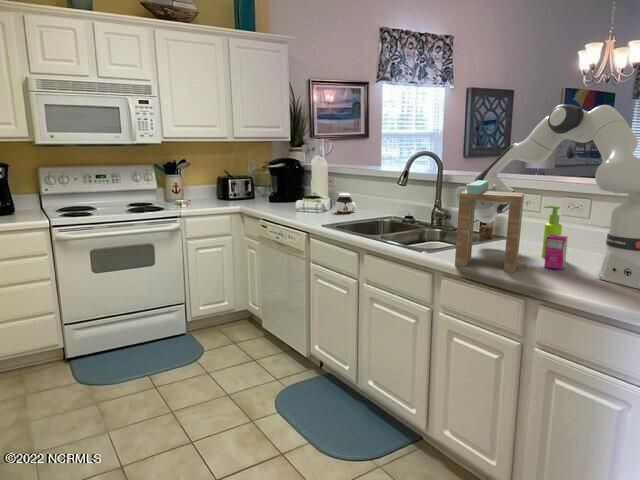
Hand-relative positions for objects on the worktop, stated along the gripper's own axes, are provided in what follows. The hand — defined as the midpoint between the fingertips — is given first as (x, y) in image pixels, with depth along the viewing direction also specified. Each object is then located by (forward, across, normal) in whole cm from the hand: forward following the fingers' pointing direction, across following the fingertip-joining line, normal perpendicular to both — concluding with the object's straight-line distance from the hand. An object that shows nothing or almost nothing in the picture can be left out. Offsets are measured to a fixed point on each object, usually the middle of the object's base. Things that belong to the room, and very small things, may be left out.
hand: (481, 186), depth 186 cm
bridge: (-2, -5, -30) cm, 31 cm away
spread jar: (-85, +89, +19) cm, 125 cm away
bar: (+7, 0, -5) cm, 9 cm away
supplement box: (-8, -28, -27) cm, 40 cm away
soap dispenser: (-22, -26, -19) cm, 39 cm away
